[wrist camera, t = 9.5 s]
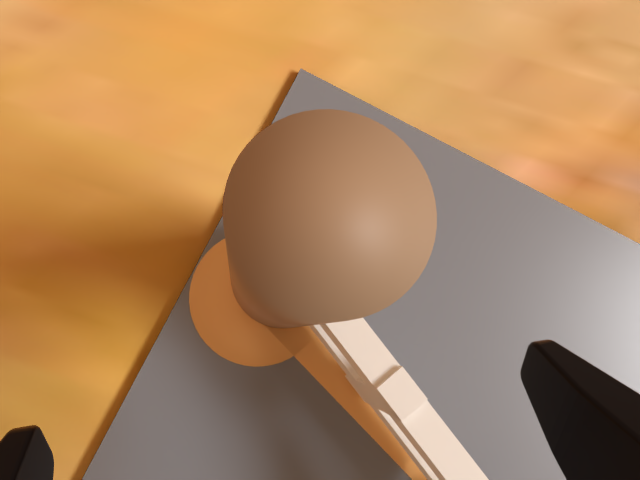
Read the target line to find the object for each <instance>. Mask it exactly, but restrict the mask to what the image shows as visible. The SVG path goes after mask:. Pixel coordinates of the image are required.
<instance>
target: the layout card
mask: <svg viewBox="0 0 640 480" xmlns="http://www.w3.org/2000/svg"><path fill="white" fill-rule="evenodd" d="M316 109H334V110H343V111H348V112H352V113H356V114H360V115H362V116H365V117H368V118H370V119H372V120H374V121H376V122H378V123H380V124H382V125H384V126H385V127H386V128H388V129H389V130H391V131H392V132H394V133H395V134H396V135H397V136H398V137H400V138H401V139H402V140H403V141H404V142H405V143H406V144H407V145H408V146H409V148H410V149H411V150H412V151H413V152H414V154H415V155H416V156H417V158H418V159H419V161H420V162H421V164H422V166H423V168H424V169H425V171H426V173H427V175H428V178H429V180H430V183H431V186H432V189H433V193H434V197H435V202H436V210H437V229H436V236H435V242H434V246H433V249H432V253H431V255H430V258H429V260H428V262H427V265H426V267H425V268H424V270H423V272H422V273H421V275H420V277H419V278H418V280H417V281H416V282H415V283H414V285H413V286H412V287H411V288H410V289H409V290H408V291H407V292H406V293H405V294H404V295H403V296H402V297H401V298H400V299H398V300H397V301H395V302H394V303H393V304H391V305H390V306H388V307H386V308H385V309H383V310H381V311H379V312H377V313H374V314H372V315H369V316H366V317H363V318H364V320H365V321H366V322H367V323H368V325H369V326H370V327H371V329H372V330H373V331H374V332H375V334H376V335H377V336H378V338H379V339H380V340H381V341H382V343H383V344H384V345H385V347H386V348H387V349H388V350H389V352H390V353H391V354H392V356H393V357H394V358H395V360H396V361H397V362H398V363H399V365H400V366H403V368H404V369H405V370H406V371H407V373H408V374H409V375H410V377H411V378H412V379H413V380H414V382H415V383H416V384H417V386H418V387H419V388H420V390H421V391H422V392H423V393H424V395H425V396H426V397H427V399H428V400H427V401H428V402H429V403H430V405H431V406H432V407H433V408H434V410H435V411H436V412H437V414H438V415H439V416H440V417H441V419H442V420H443V421H444V423H445V424H446V425H447V427H448V428H449V429H450V430H451V432H452V433H453V434H454V436H455V437H456V438H457V439H458V441H459V442H460V443H461V445H462V446H463V447H464V448H465V450H466V451H467V452H468V454H469V455H470V456H471V457H472V459H473V460H474V461H475V463H476V464H477V465H478V466H479V468H480V469H481V470H482V472H483V473H484V474H485V475H486V477H487V478H488V479H489V480H566V478H565V476H564V474H563V472H562V470H561V469H560V467H559V465H558V463H557V461H556V459H555V457H554V455H553V453H552V451H551V449H550V447H549V445H548V442H547V440H546V438H545V435H544V433H543V431H542V428H541V426H540V424H539V421H538V419H537V416H536V414H535V412H534V409H533V407H532V405H531V402H530V400H529V398H528V395H527V393H526V390H525V388H524V386H523V383H522V380H521V375H520V371H521V366H522V363H523V360H524V357H525V354H526V351H527V347H528V345H529V344H530V343H531V342H534V341H540V340H547V339H549V340H553V341H555V342H557V343H558V344H560V345H562V346H563V347H565V348H566V349H568V350H570V351H571V352H573V353H574V354H576V355H578V356H579V357H581V358H583V359H584V360H586V361H587V362H589V363H591V364H592V365H594V366H595V367H597V368H599V369H600V370H602V371H604V372H605V373H607V374H608V375H610V376H612V377H613V378H615V379H616V380H618V381H620V382H621V383H623V384H625V385H626V386H628V387H629V388H631V389H633V390H634V391H636V392H637V393H639V394H640V244H639V243H637V242H635V241H633V240H631V239H629V238H627V237H625V236H623V235H621V234H619V233H618V232H616V231H614V230H612V229H610V228H608V227H606V226H604V225H602V224H600V223H598V222H596V221H594V220H592V219H590V218H589V217H587V216H585V215H583V214H581V213H579V212H577V211H575V210H573V209H571V208H569V207H567V206H565V205H563V204H561V203H560V202H558V201H556V200H554V199H552V198H550V197H548V196H546V195H544V194H542V193H540V192H538V191H536V190H534V189H532V188H531V187H529V186H527V185H525V184H523V183H521V182H519V181H517V180H515V179H513V178H511V177H509V176H507V175H505V174H504V173H502V172H500V171H498V170H496V169H494V168H492V167H490V166H488V165H486V164H484V163H482V162H480V161H478V160H476V159H475V158H473V157H471V156H469V155H467V154H465V153H463V152H461V151H459V150H457V149H455V148H453V147H451V146H449V145H447V144H446V143H444V142H442V141H440V140H438V139H436V138H434V137H432V136H430V135H428V134H426V133H424V132H422V131H420V130H419V129H417V128H415V127H413V126H411V125H409V124H407V123H405V122H403V121H401V120H399V119H397V118H395V117H393V116H391V115H390V114H388V113H386V112H384V111H382V110H380V109H378V108H376V107H374V106H372V105H370V104H368V103H366V102H364V101H362V100H361V99H359V98H357V97H355V96H353V95H351V94H349V93H347V92H345V91H343V90H341V89H339V88H337V87H335V86H333V85H332V84H330V83H328V82H326V81H324V80H322V79H320V78H318V77H316V76H314V75H312V74H310V73H308V72H306V71H305V70H303V69H300V71H299V73H298V75H297V77H296V79H295V81H294V82H293V84H292V86H291V88H290V90H289V92H288V94H287V96H286V98H285V99H284V101H283V103H282V105H281V107H280V109H279V111H278V113H277V114H276V116H275V118H274V120H273V122H272V124H273V123H274V122H276V121H278V120H280V119H282V118H285V117H287V116H289V115H292V114H296V113H300V112H303V111H309V110H316ZM345 375H346V373H345V372H344V371H343V369H342V368H341V367H340V366H339V364H338V363H337V362H336V360H335V359H334V358H333V356H332V355H331V354H330V353H329V351H328V350H327V349H326V347H325V346H324V345H323V343H322V342H321V341H320V340H319V338H318V337H317V336H316V334H315V333H314V332H313V330H312V329H311V328H310V327H309V326H302V327H294V328H273V327H269V326H266V325H263V324H261V323H259V322H257V321H255V320H254V319H252V318H251V317H250V316H249V315H247V314H246V313H245V312H244V310H243V309H242V308H241V307H240V305H239V304H238V302H237V300H236V298H235V296H234V293H233V290H232V285H231V279H230V272H229V264H228V256H227V249H226V241H225V234H224V226H223V216H222V218H221V219H220V221H219V223H218V225H217V227H216V229H215V231H214V233H213V234H212V236H211V238H210V240H209V242H208V244H207V246H206V248H205V249H204V251H203V253H202V255H201V257H200V259H199V261H198V263H197V264H196V266H195V268H194V270H193V272H192V274H191V276H190V278H189V280H188V281H187V283H186V285H185V287H184V289H183V291H182V293H181V295H180V296H179V298H178V300H177V302H176V304H175V306H174V308H173V310H172V311H171V313H170V315H169V317H168V319H167V321H166V323H165V325H164V326H163V328H162V330H161V332H160V334H159V336H158V338H157V340H156V341H155V343H154V345H153V347H152V349H151V351H150V353H149V355H148V356H147V358H146V360H145V362H144V364H143V366H142V368H141V370H140V371H139V373H138V375H137V377H136V379H135V381H134V383H133V385H132V386H131V388H130V390H129V392H128V394H127V396H126V398H125V400H124V401H123V403H122V405H121V407H120V409H119V411H118V413H117V415H116V416H115V418H114V420H113V422H112V424H111V426H110V428H109V430H108V431H107V433H106V435H105V437H104V439H103V441H102V443H101V445H100V447H99V448H98V450H97V452H96V454H95V456H94V458H93V460H92V462H91V463H90V465H89V467H88V469H87V471H86V473H85V475H84V477H83V478H82V480H427V479H426V477H425V476H424V475H423V473H422V472H421V471H420V469H419V468H418V467H417V466H416V464H415V463H414V462H413V460H412V459H411V458H410V456H409V455H408V454H407V453H406V451H405V450H404V449H403V447H402V446H401V445H400V443H399V442H398V441H397V440H396V438H395V437H394V436H393V434H392V433H391V432H390V430H389V429H388V428H387V427H386V425H385V424H384V423H383V421H382V420H381V419H380V417H379V416H378V415H377V414H376V412H375V411H374V410H373V408H372V407H371V406H370V404H368V403H366V402H364V401H363V399H362V398H361V397H360V395H359V394H358V393H357V392H356V390H355V389H354V388H353V386H352V385H351V384H350V382H349V381H348V380H347V379H346V377H345Z"/></svg>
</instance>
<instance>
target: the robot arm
mask: <svg viewBox="0 0 640 480" xmlns="http://www.w3.org/2000/svg"><path fill="white" fill-rule="evenodd" d="M520 375H521V380H522V383H523V386H524V388H525V390H526V393H527V395H528V398H529V400H530V402H531V405H532V407H533V409H534V412H535V414H536V416H537V419H538V421H539V424H540V426H541V428H542V431H543V433H544V435H545V438H546V440H547V442H548V445H549V447H550V449H551V451H552V453H553V455H554V457H555V459H556V461H557V463H558V465H559V467H560V469H561V470H562V472H563V474H564V476H565V478H566V480H640V394H639V393H637V392H636V391H634V390H633V389H631V388H629V387H628V386H626V385H625V384H623V383H621V382H620V381H618V380H616V379H615V378H613V377H612V376H610V375H608V374H607V373H605V372H604V371H602V370H600V369H599V368H597V367H595V366H594V365H592V364H591V363H589V362H587V361H586V360H584V359H583V358H581V357H579V356H578V355H576V354H574V353H573V352H571V351H570V350H568V349H566V348H565V347H563V346H562V345H560V344H558V343H557V342H555V341H553V340H549V339H547V340H540V341H534V342H531V343H530V344H529V345H528V347H527V351H526V354H525V357H524V360H523V363H522V366H521V371H520ZM53 471H54V459H53V454H52V451H51V449H50V447H49V445H48V443H47V441H46V439H45V437H44V435H43V433H42V431H41V429H40V428H39V427H38V426H36V425H32V426H26V427H20V428H15V429H12V430H10V431H9V432H8V433H7V434H6V435H5V436H4V437H3V439H2V440H1V441H0V480H53Z"/></svg>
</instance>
